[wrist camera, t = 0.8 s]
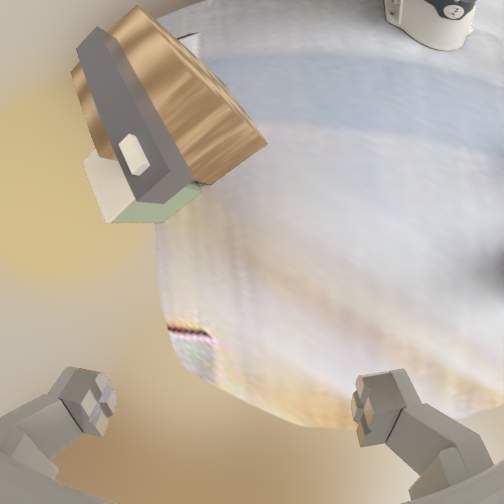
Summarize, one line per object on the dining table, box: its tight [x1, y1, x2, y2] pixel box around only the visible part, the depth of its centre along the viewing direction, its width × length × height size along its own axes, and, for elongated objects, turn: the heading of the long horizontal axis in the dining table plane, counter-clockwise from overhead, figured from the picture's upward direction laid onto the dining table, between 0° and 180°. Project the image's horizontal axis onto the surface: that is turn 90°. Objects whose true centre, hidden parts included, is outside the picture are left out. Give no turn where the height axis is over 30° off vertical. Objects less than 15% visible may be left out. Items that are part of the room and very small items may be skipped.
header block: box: [83, 147, 202, 223], centre depth 46 cm, size 12×10×15 cm
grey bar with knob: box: [76, 27, 195, 204], centre depth 22 cm, size 22×4×4 cm, turn 33°
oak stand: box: [71, 6, 268, 185], centre depth 37 cm, size 16×12×26 cm
